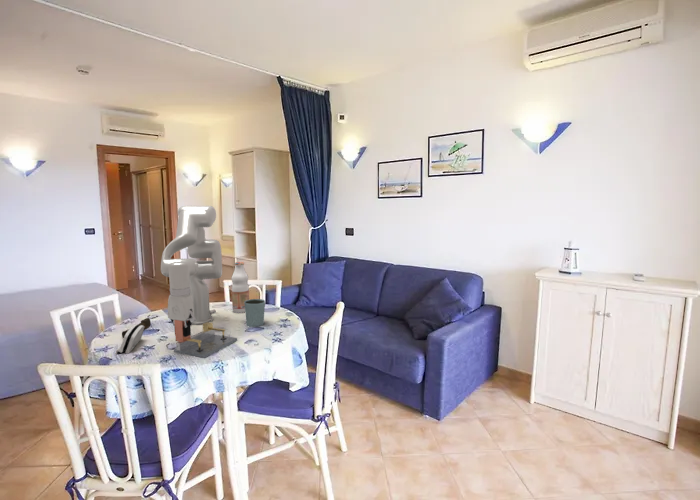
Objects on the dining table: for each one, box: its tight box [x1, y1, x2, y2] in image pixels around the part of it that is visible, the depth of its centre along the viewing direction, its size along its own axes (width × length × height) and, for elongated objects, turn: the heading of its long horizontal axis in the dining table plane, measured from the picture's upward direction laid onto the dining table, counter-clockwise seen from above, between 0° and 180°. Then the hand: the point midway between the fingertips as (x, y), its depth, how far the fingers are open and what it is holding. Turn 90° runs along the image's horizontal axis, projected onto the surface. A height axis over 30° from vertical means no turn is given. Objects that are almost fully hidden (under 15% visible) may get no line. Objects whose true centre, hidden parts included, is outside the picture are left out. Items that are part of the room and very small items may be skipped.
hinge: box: [114, 323, 145, 355], centre depth 158 cm, size 17×5×10 cm, turn 14°
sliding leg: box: [174, 320, 201, 350], centre depth 151 cm, size 4×11×12 cm, turn 69°
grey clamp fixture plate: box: [173, 322, 238, 359], centre depth 157 cm, size 20×16×7 cm
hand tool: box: [121, 317, 152, 339], centre depth 176 cm, size 19×4×5 cm, turn 175°
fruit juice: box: [231, 261, 250, 314], centre depth 209 cm, size 9×9×28 cm
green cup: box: [244, 298, 266, 328], centre depth 186 cm, size 10×10×12 cm
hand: (182, 334), depth 152 cm, fingers closed on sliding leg, 4 cm apart
